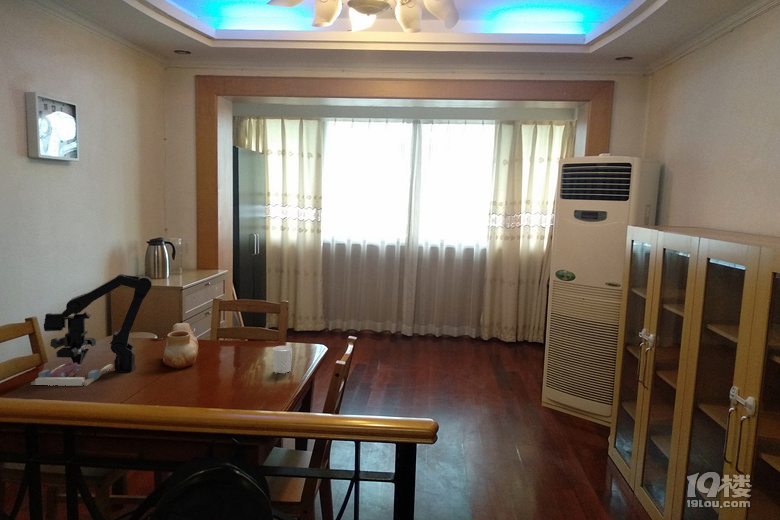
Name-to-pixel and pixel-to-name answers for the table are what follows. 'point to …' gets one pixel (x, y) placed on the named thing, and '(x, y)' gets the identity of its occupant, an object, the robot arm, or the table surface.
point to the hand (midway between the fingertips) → (77, 368)
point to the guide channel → (68, 378)
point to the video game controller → (66, 370)
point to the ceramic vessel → (180, 347)
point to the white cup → (282, 358)
